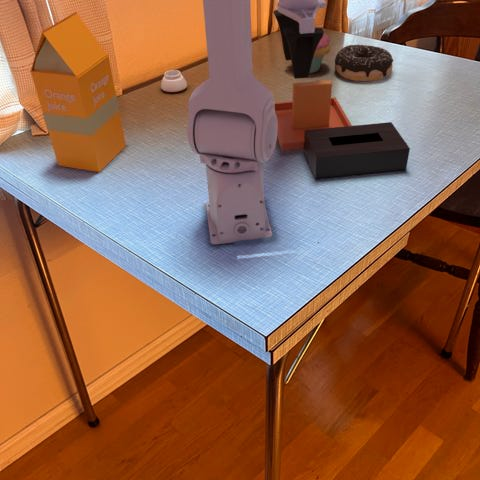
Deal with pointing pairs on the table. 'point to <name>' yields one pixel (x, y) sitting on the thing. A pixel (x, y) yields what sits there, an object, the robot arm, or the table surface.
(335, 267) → the table surface
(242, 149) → the robot arm
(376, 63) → the donut
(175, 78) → the lidless jar
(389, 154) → the toaster
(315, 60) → the cupcake
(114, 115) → the orange juice
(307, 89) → the toast
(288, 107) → the red tray
